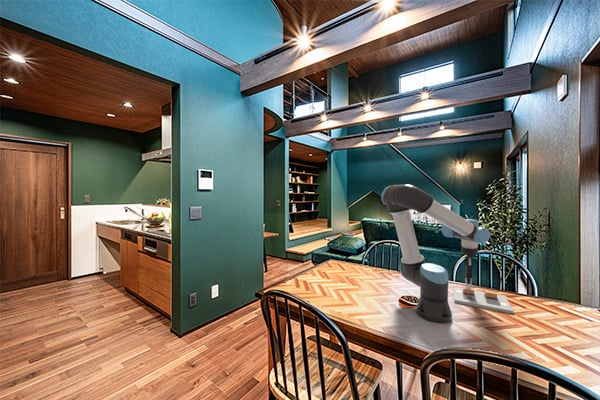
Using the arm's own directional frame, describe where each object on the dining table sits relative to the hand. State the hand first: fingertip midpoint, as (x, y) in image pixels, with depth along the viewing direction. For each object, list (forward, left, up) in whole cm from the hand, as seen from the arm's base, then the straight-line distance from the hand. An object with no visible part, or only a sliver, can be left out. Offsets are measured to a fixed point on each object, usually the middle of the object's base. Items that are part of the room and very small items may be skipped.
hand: (468, 288), depth 134 cm
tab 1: (+2, 0, -3) cm, 4 cm away
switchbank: (-1, -5, -5) cm, 7 cm away
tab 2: (+3, -10, -3) cm, 11 cm away
